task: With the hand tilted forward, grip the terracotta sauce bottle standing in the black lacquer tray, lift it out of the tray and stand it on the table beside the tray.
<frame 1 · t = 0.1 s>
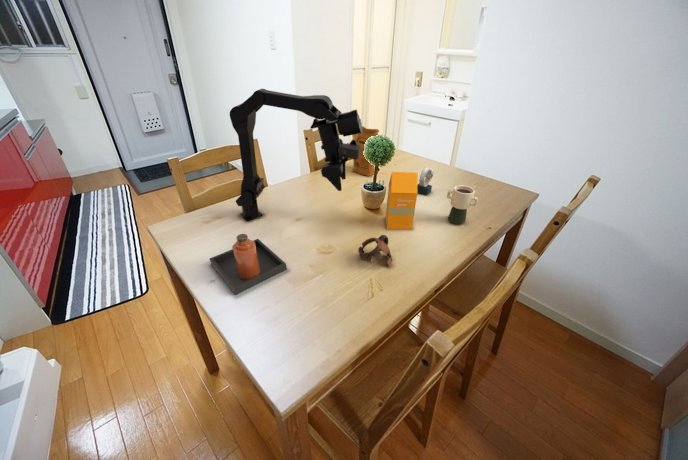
hand: (342, 184, 102), 15 cm above the table, tool pointing down, fingers open, 9 cm apart
bottle: (249, 272, 86), point 1 cm above the table, touching tray
brown looped piece: (376, 259, 93), on the table
stone sculpture: (422, 192, 133), on the table
coffee package: (365, 172, 152), on the table
orange juice: (398, 224, 111), on the table
tray: (248, 268, 89), on the table
character mug: (456, 221, 113), on the table
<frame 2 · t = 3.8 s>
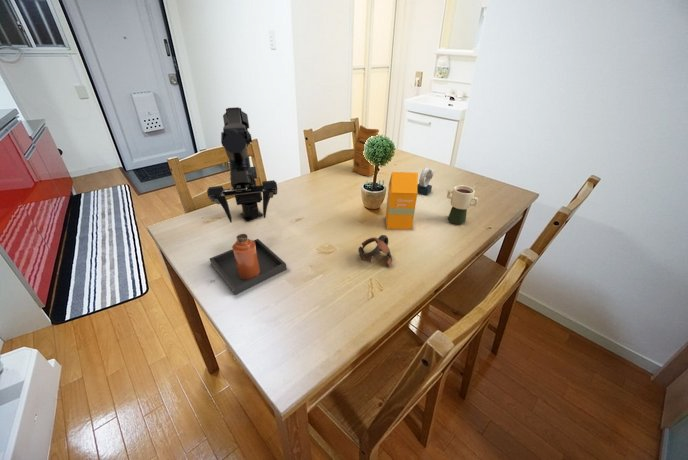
hand: (248, 219, 85), 14 cm above the table, tool tilted 45°, fingers open, 9 cm apart
nothing on the table moved.
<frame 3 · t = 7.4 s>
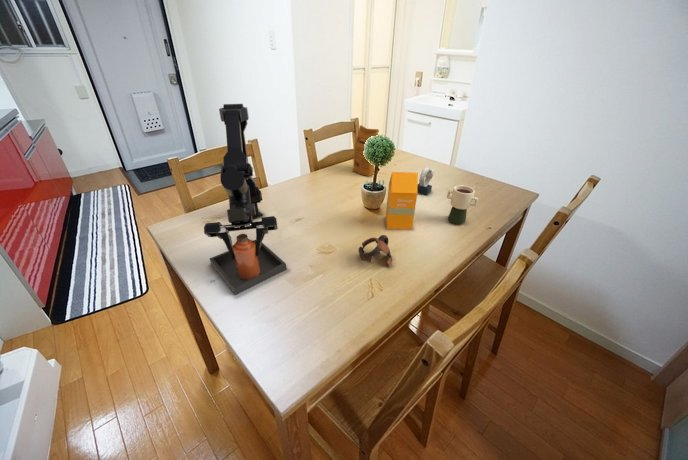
hand: (245, 257, 82), 7 cm above the table, tool tilted 45°, fingers closed on bottle, 6 cm apart
bottle: (249, 272, 86), point 1 cm above the table, touching gripper, tray
everything else where it was.
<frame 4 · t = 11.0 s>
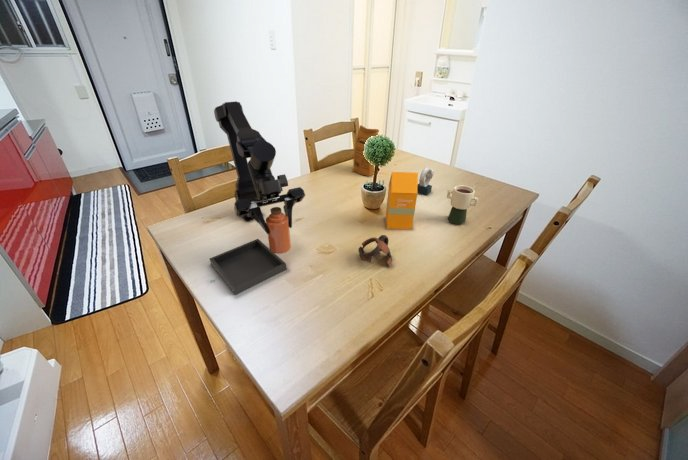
hand: (279, 230, 82), 13 cm above the table, tool tilted 45°, fingers closed on bottle, 6 cm apart
bottle: (280, 247, 86), point 7 cm above the table, touching gripper
everything else where it was.
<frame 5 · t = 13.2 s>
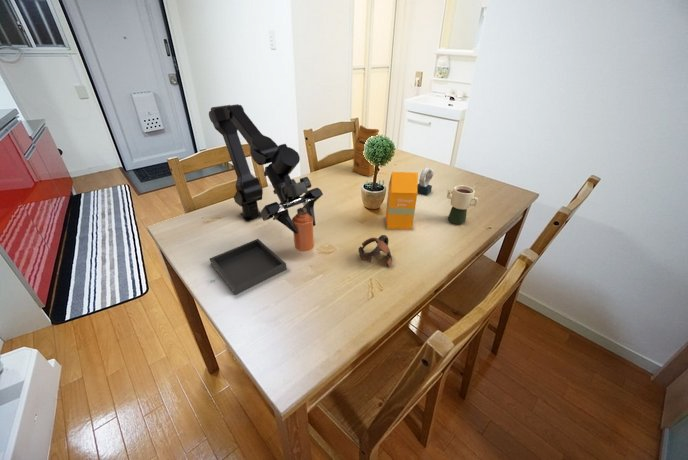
hand: (305, 229, 88), 10 cm above the table, tool tilted 45°, fingers closed on bottle, 6 cm apart
bottle: (304, 245, 92), point 4 cm above the table, touching gripper
everything else where it was.
when the fingers open (7 cm above the table, at t = 14.9 s): bottle stays where it is, on the table.
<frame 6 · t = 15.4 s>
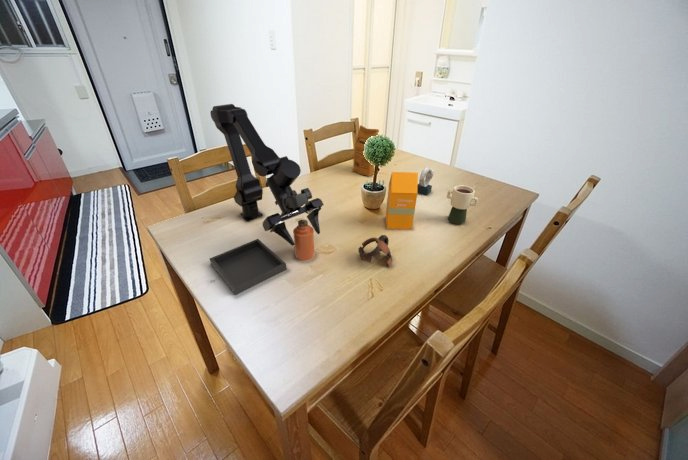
hand: (306, 239, 89), 7 cm above the table, tool tilted 45°, fingers open, 9 cm apart
bottle: (305, 255, 94), on the table
everything else where it was.
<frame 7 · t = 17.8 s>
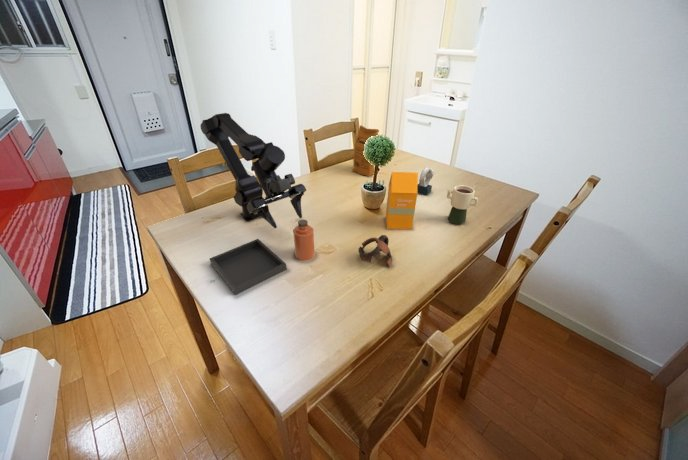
hand: (288, 222, 94), 9 cm above the table, tool tilted 40°, fingers open, 9 cm apart
nothing on the table moved.
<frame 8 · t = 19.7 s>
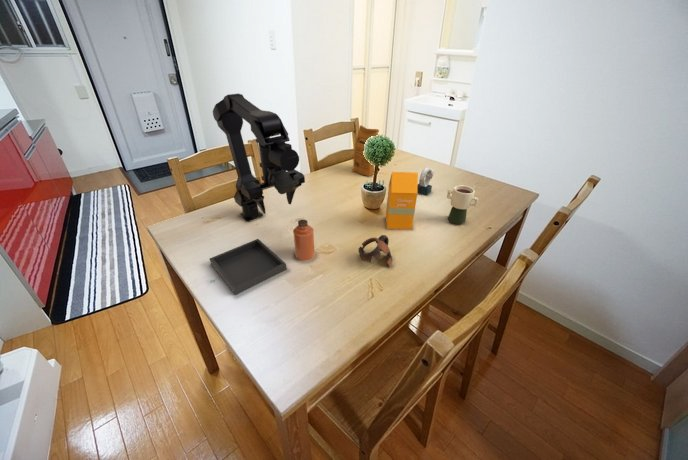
hand: (277, 208, 95), 12 cm above the table, tool pointing down, fingers open, 9 cm apart
nothing on the table moved.
at the end: bottle inside the target area (0.1 cm from its centre), on the table; bottle tilted 0°; bottle touching table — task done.
